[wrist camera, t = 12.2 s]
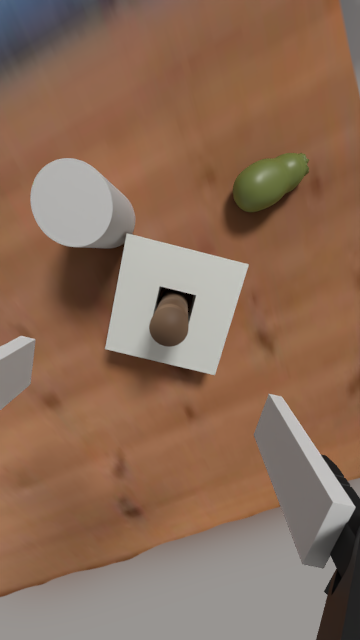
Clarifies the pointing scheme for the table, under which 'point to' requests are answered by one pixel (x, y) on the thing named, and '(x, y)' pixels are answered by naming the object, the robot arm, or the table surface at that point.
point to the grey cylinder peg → (80, 206)
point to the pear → (268, 181)
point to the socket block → (182, 275)
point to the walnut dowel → (170, 319)
